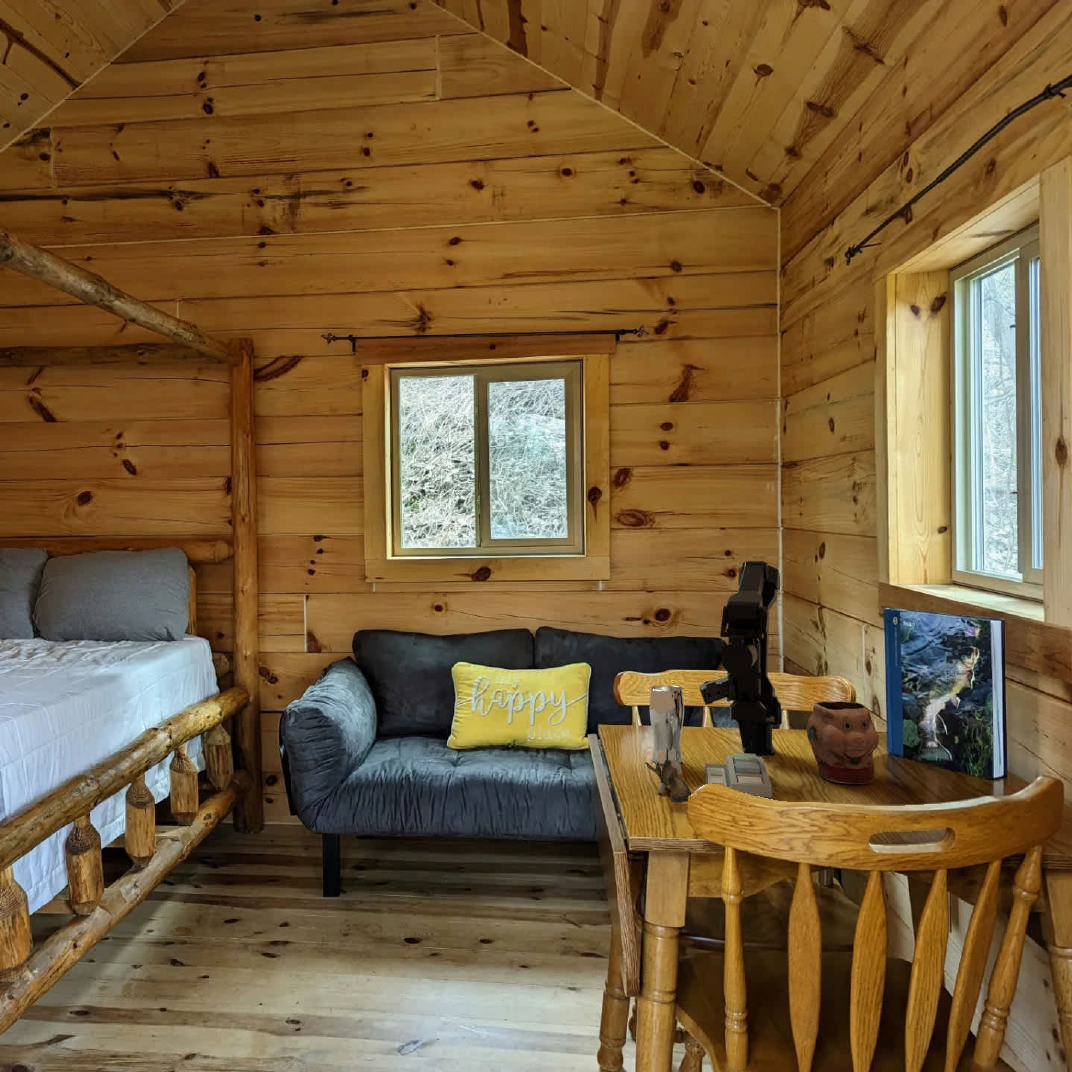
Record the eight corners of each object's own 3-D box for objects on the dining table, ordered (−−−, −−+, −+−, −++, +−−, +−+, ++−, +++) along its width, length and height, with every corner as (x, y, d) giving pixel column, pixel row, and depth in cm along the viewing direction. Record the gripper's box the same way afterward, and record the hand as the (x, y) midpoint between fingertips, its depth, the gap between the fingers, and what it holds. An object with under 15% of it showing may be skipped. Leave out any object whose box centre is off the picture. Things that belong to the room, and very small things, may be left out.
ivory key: (737, 785, 139) (737, 776, 139) (760, 786, 138) (760, 777, 138) (739, 792, 135) (739, 783, 135) (762, 793, 134) (762, 784, 134)
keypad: (705, 768, 153) (704, 753, 153) (762, 771, 150) (762, 756, 150) (707, 801, 134) (707, 783, 134) (773, 804, 132) (772, 787, 132)
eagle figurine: (635, 782, 141) (652, 788, 133) (652, 747, 143) (670, 750, 134) (669, 803, 142) (688, 810, 133) (686, 767, 144) (706, 773, 135)
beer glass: (668, 768, 153) (668, 692, 153) (642, 760, 158) (642, 687, 158) (691, 761, 157) (690, 688, 157) (665, 754, 163) (664, 683, 163)
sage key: (734, 761, 150) (734, 753, 150) (755, 762, 149) (755, 754, 149) (735, 767, 146) (735, 758, 146) (757, 768, 145) (757, 759, 145)
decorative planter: (789, 761, 157) (789, 693, 157) (848, 759, 158) (847, 692, 158) (833, 793, 137) (832, 715, 137) (899, 791, 138) (898, 714, 138)
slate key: (735, 769, 144) (735, 761, 144) (757, 770, 143) (757, 762, 143) (737, 776, 140) (737, 767, 140) (760, 777, 139) (759, 768, 139)
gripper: (700, 657, 158) (701, 733, 158) (702, 673, 140) (703, 759, 140) (757, 658, 156) (757, 735, 156) (766, 674, 138) (767, 762, 138)
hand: (745, 747), depth 147 cm, fingers closed
